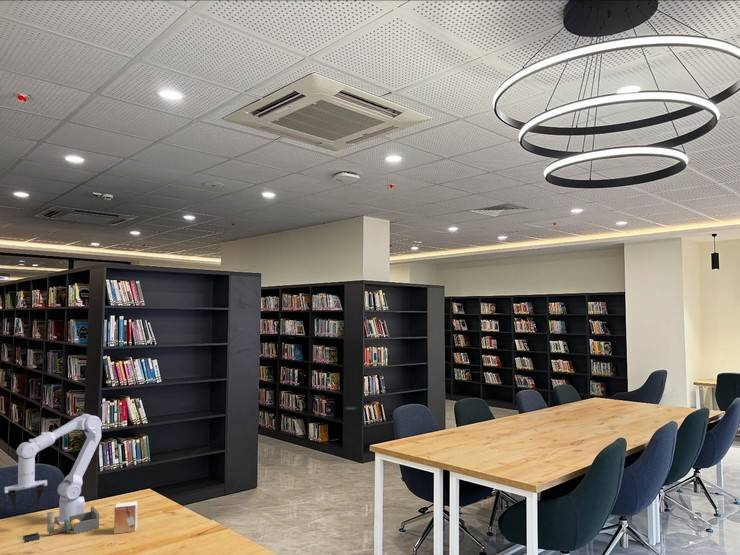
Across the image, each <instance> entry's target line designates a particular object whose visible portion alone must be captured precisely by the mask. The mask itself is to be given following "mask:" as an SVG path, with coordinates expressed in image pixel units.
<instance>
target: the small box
mask: <svg viewBox="0 0 740 555" xmlns="http://www.w3.org/2000/svg"><path fill="white" fill-rule="evenodd" d="M138 502H139V501H138V500H135V501H126V502H117V503H115V504H116V505H115V507H114V515H113V517H114V520H113V521H114V522H113V524H114V525H113V534H117V535H118V534H125V533H126V532H128V533H135V532H136V531H137V527H138V505H139V504H138ZM126 534H127V533H126Z"/></svg>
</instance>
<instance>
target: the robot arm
mask: <svg viewBox="0 0 740 555" xmlns="http://www.w3.org/2000/svg"><path fill="white" fill-rule="evenodd" d="M102 426H103V422H102V420H101V418H100V417H98V416H97V415H92V414H89V413H83V414H81V415H80V416H76V417H75V418H73V419H72V420H70V421H68V422H67V423H66V424H64V425H61V426H59V428H56V429H55V430H53V431H52V432H51V431H42V432H41V433H40V435H38V436H36V437H35V438H29V439H28V441H25V442H21V443H20V444H19V446H18V447H17V449H16V450H15V452H16V454H17V456H18V462H17V471H18V472H17V484H13V485H9V486H4V494H8V497H9V498H10V500H11V504H12V508H13V509H12V510H13V511H16V510H17V502H16V497H17V493H16V492H17V491H23V490H28V489H33V488H35V506H36V507H37V506H39V502H40V499H41V497H42V494H43V492H44V490H45V487H46V486H48V480H47V479H44V480H35V478H36V476H35V474H36V472H35V471H36V468H35V467H36V460H35V458H36V455H37V454H38V453H39V452H41V451H42V450H44V449H46V448H48V447H50V446H52V445H53V444H54V443H55V442H56V440H57V439H58V438H60V437H62V436H65V435H66V434H69V433H72V432H73V431H75V430H76V431H79V430H82V431H83V432H84V434H85V436H86V440H85V441H84V444H82V448H81V449H80V451H79V453H78V456H77V458H76V460H75V462H74V464H73V465H72V467H71V470H70V472H69V474H67V475H66V476H65V477H64V479H63V481H62V482H61V483H59V484H58V487H57V494H58V495H59V496H60V497H59V499H58V500H59V504H58V505H59V506H58V510H59V511H58V517H57V518H56V521H57V522H58V525H60V526H61V525H64V520H67V519H68V521H69V516H73V515H77V514H82V513H86V512H85V508H86V506H85V505H86V504H85V497H84V495H83V496H80V495H81V492H82V486H83V483H84V482H83V481H84V480H83V476H84V474H85V472H86V471H87V469H88V466H89V464H90V462H91V461H92V460H91V459H92V458H93V456H94V453H95V452H96V449H97V448H98V445H99V444H100V441H101V439H102Z"/></svg>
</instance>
